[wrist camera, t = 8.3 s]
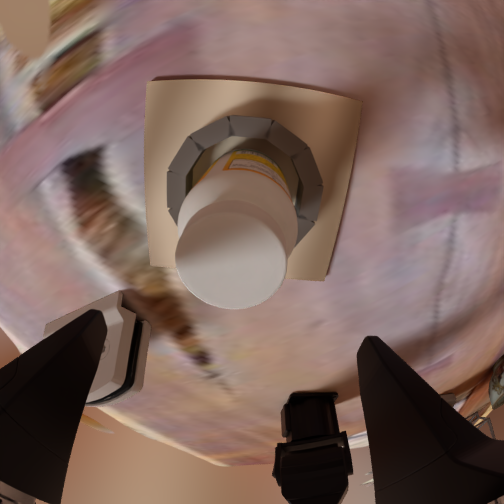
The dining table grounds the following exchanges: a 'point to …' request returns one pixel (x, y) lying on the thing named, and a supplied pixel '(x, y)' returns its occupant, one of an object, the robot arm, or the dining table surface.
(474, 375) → the dining table surface
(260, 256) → the supplement bottle
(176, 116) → the ring holder
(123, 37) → the dining table surface
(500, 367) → the bowl
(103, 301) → the grey piece
